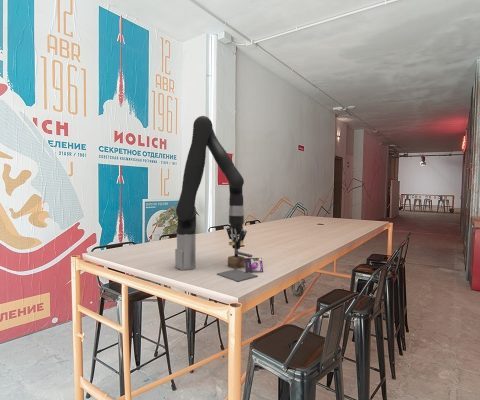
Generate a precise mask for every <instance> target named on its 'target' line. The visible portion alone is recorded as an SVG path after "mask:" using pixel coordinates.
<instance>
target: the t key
mask: <svg viewBox="0 0 480 400" xmlns="http://www.w3.org/2000/svg"><path fill="white" fill-rule="evenodd" d="M242 244H243V245H244V240H243V241H241V242H240V245H242ZM232 245H235V248H234V256H235V257H238V256H242V257H245V258H246V257H247V258H253V254H250V253H245V252H241V251H239V249H236V241H232V240H231V241H229V242H228V246H231V247H232Z"/></svg>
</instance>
